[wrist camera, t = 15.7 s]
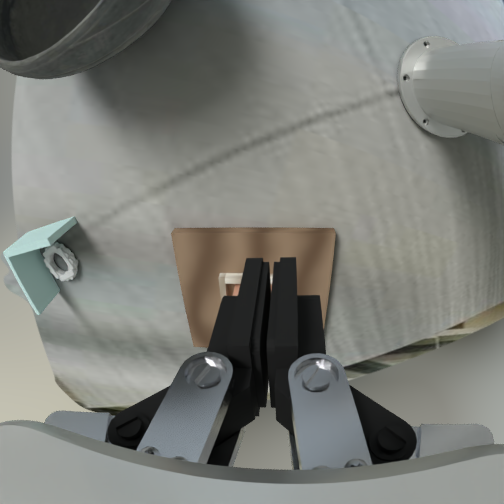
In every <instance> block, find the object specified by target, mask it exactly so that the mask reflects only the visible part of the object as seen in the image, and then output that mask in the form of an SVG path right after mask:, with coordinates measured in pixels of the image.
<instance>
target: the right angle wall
mask: <svg viewBox="0 0 504 504" xmlns="http://www.w3.org/2000/svg"><path fill="white" fill-rule="evenodd" d="M76 223H77V222H76V219H75V217H71V218H68V219H65V220H62V221H59V222H56V223H52V224H49V225H46V226H44V227H41V228H38V229H35V230H32V231H29V232H27V233H26V234H25V235H23V236H22V237H21V238H20V239H18V240H17V241H16V242H15V243H13V244H12V245H11V246H10V247H9V248H7V249H6V250H5V251H4V252H3V254H4V256H5V258H6V260H7V262H8V264H9V266H10V268H11V270H12V272H13V273H14V275H15V277H16V279H17V281H18V283H19V285H20V286H21V288H22V290H23V292H24V294H25V295H26V297H27V299H28V300H29V302H30V304H31V305H32V307H33V309H34V310H35V312H36V314H37V315H40V314H41V313H42V312H43V311H44V309H45V308H46V307H47V306H48V304H49V303H50V302H51V301H52V300H53V298H54V297H55V296H56V295H57V294H58V292H59V291H60V289H59V287H58V285H57V284H56V282H55V280H54V278H53V276H52V274H53V275H54V276H55V277H56V279H59V278H60V280H61V281H62V282H63V281H65V280H66V281H69V280H70V279H71V280H73V277H74V278H75V275H77V272H78V271H77V270H78V268H77V265H78V260H76V259H75V258H74V253H72V252H71V251H70V250H69V248H65V246H64V245H63V244H59V243H58V242H55V241H56V240H57V239H58V238H60V237H61V236H62V235H63V234H64V233H65V232H67V231H68V230H69V229H70V228H71V227H73V226H74V225H75V224H76ZM54 242H55V244H54ZM43 247H47V248H45V252H44V253H43V256H44V257H45V259H44V258H43V256H42V254H41V252H40V250H39V249H40V248H43ZM54 253H57V254H59V255H61V256H62V258H63V259H64V261H65V262H66V264H67V265H68V271H64V270H62V269H60V268H59V267H57V266H56V264H55V261H54ZM49 269H50V270H49ZM51 273H52V274H51Z"/></svg>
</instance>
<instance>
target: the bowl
mask: <svg viewBox="0 0 504 504" xmlns="http://www.w3.org/2000/svg"><path fill="white" fill-rule="evenodd" d="M170 2H171V0H0V68H2V69H4V70H6V71H8V72H10V73H12V74H15V75H18V76H22V77H28V78H35V79H53V78H61V77H66V76H70V75H74V74H77V73H80V72H82V71H85V70H88V69H90V68H93V67H95V66H96V65H98V64H100V63H102V62H104V61H105V60H107V59H109V58H111V57H112V56H114V55H116V54H117V53H119V52H121V51H122V50H124V49H125V48H126V47H128V46H129V45H131V44H132V43H133V42H134V41H136V40H137V39H138V38H140V37H141V36H142V35H143V34H144V33H145V32H146V31H147V30H149V29H150V28H151V27H152V26H153V25H154V23H155V22H156V21H157V20H158V19H159V18H160V17H161V15H162V14H163V13H164V11H165V10H166V8H167V7H168V5H169V3H170Z"/></svg>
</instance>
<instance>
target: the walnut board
mask: <svg viewBox="0 0 504 504" xmlns="http://www.w3.org/2000/svg"><path fill="white" fill-rule="evenodd" d="M171 235H172V241H173V247H174V252H175V258H176V264H177V269H178V274H179V279H180V285H181V290H182V295H183V299H184V304H185V309H186V314H187V318H188V323H189V327H190V332H191V336H192V341H193V345H194V347H206V348H208V346H209V342H210V339H211V335H212V332H213V328H214V325H215V321H216V318H217V314H218V311H219V307H220V304H221V301H222V298H223V296H233V292H234V287H235V284H239V285H240V284H241V279H242V275H243V271H244V266H245V262H246V258H263V262H269V265H270V280H271V285H272V278H273V267H274V262H280V257H296V265H297V295H320V300H321V309H322V319H323V328H324V325H325V318H326V311H327V304H328V297H329V289H330V281H331V273H332V264H333V255H334V246H335V236H336V233H335V230H334V228H175V229H174V230H173V232H172V233H171Z"/></svg>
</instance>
